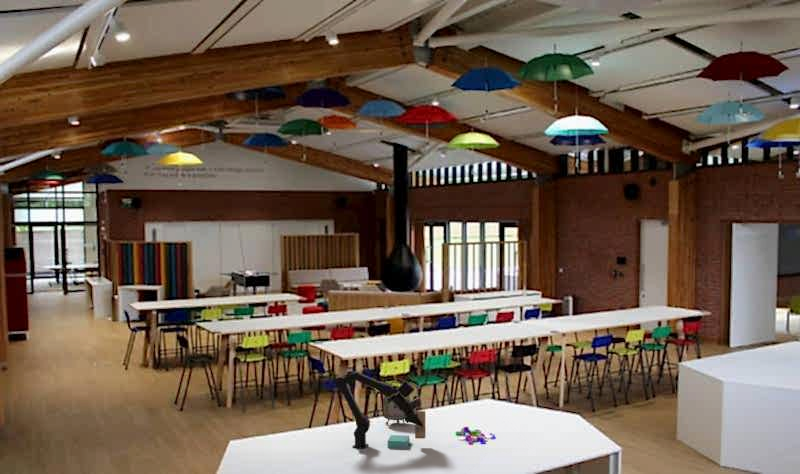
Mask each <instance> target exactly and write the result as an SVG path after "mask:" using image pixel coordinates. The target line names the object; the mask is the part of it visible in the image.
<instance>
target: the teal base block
mask: <svg viewBox="0 0 800 474" xmlns="http://www.w3.org/2000/svg"><path fill="white" fill-rule="evenodd" d="M409 444H410V435H404V434H403V435H402V434H401V435H399V434H398V435H396V434H391V435H390V436H389V437H388V439H387V448H388V449H407V448H408V446H409Z"/></svg>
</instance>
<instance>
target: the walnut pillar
mask: <svg viewBox="0 0 800 474" xmlns="http://www.w3.org/2000/svg"><path fill="white" fill-rule="evenodd" d="M416 413H417V417H418V418H419V420H420V421H421V422H422V424H423V426H419V425H416V424H414V431H415V432H414V433H415V434H414V436H415V437H414V439H419V440H420V439H425V438H426V410H418V411H416Z"/></svg>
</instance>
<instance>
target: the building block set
mask: <svg viewBox="0 0 800 474" xmlns="http://www.w3.org/2000/svg"><path fill="white" fill-rule="evenodd" d="M454 434H456V435H455V436H459V437H458V441H462V440H464V441H465V442H466V441H467V444H468V445H473V442H475V441H476V442H479V443H481V444H480V445H486V444H487V443H486V442H488V441H489V440H495V439H496V436H495V434H494V433H482V430H479V429H473V430H471V429H469V426H462V427H460V429H458V430H456V431H455V433H454ZM473 434H474V435H473ZM463 436H464V437H463ZM473 436H478V437H473ZM489 438H491V439H489ZM465 439H466V440H465Z"/></svg>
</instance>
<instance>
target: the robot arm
mask: <svg viewBox="0 0 800 474" xmlns="http://www.w3.org/2000/svg"><path fill="white" fill-rule="evenodd" d="M355 381H357V382H359V383H361V384H364V385H366V386H368V387H370V388H372V389H375V390H376V391H377V392H378V393H380V394H381V395H383V397H384V396H386V397H388V403H390V402H391V401H392V402H393V403H394V404H395V405H396V406H397V407H398V408H399V410H401V411H402V412H403V413H404V414H405V419H404V422H406V424H408V423H411V424H414V425H415V424H416V425H419V426H423V424H422V422H421V421H420V420H419V418H418V417H417V413H416V411H419V407H418V406H420V405H422V400H421V397H420V396H417V395H413V396H412V399H411V400H410V399H409V400H406V399H405V398H404V397H408V396H410V395H411V394H413V392H414V391H415V390H416V388H415V386H414V385H413V384H412V383H410V382H409V381H407V380H404V381H403V382H402V383H401V384H402V385H401V384H400V385H399V386H398V385H393V383H392V384H391V382H387V381H379V380H377V379H375V378H372V377H370V376H368V375H366V374H364V373H361V372H360V371H357V370H355V371H354V372H351V373H347V374H345V375H344V374H340V375H338V376H337V377H336V379H334V386H335V387H336V388H337V389H338V391H339V392H340V393H341V394H342V395H343V397H344V399H345V401H346V403H347V405H348V407H349V409H350V411H351V413H352V415H353V417H354V419H355V426H356V428H355V429H354V431H353V436H354V445H352V448H355V449H365V448H366V447H368V446H369V444H368V443H367V436H366V433H368V432H369V429H370V427H371V423H370V422H371V420H370V419H369V417H368V414H366V415H364V414H363V413H362V411H361V409H360V407H359V405H358V403H357V401H356V399H355V397H354V396H353V395H354V394H353V393H352V391H351V388H350V383H353V382H355ZM398 391H399V392H398ZM397 392H398V393H397ZM396 393H397V394H396ZM392 394H393V395H392ZM391 395H392V396H391ZM389 396H391V397H389ZM403 396H404V397H403Z"/></svg>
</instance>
